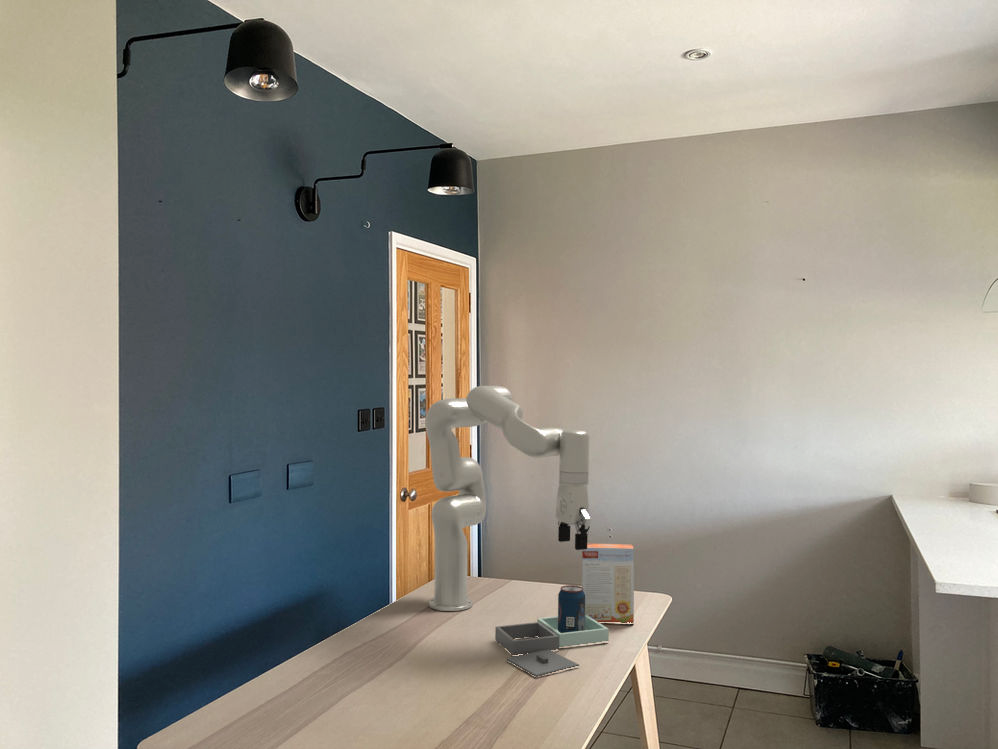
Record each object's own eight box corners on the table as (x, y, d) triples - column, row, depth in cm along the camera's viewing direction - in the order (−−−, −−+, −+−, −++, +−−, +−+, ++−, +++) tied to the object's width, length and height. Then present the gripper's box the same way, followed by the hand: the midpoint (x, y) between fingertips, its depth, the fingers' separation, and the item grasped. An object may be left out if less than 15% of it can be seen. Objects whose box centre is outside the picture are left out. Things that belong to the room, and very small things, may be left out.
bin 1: (495, 640, 199) (495, 626, 199) (539, 635, 203) (539, 621, 203) (513, 656, 188) (513, 641, 188) (558, 651, 192) (559, 636, 192)
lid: (506, 661, 184) (506, 653, 184) (547, 652, 191) (547, 644, 191) (536, 678, 174) (536, 670, 174) (578, 668, 181) (579, 660, 181)
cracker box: (632, 619, 218) (633, 543, 218) (633, 626, 212) (634, 548, 212) (581, 617, 219) (582, 541, 219) (581, 624, 213) (582, 546, 213)
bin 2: (537, 632, 206) (537, 618, 206) (583, 627, 211) (584, 613, 211) (559, 649, 193) (559, 634, 193) (608, 643, 198) (608, 628, 198)
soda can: (559, 629, 206) (559, 583, 206) (586, 631, 205) (586, 585, 205) (556, 638, 199) (556, 590, 199) (583, 640, 198) (584, 592, 198)
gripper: (546, 474, 209) (545, 539, 209) (575, 483, 193) (574, 553, 193) (572, 473, 212) (570, 537, 212) (602, 482, 195) (601, 551, 195)
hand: (572, 545), depth 202 cm, fingers open, 9 cm apart
